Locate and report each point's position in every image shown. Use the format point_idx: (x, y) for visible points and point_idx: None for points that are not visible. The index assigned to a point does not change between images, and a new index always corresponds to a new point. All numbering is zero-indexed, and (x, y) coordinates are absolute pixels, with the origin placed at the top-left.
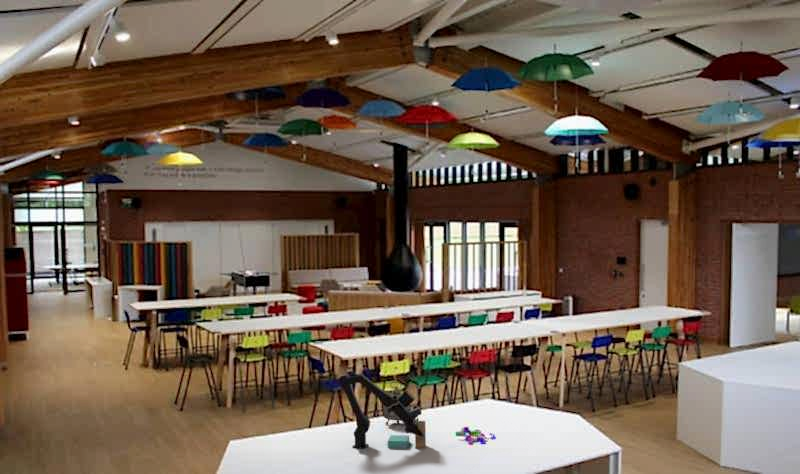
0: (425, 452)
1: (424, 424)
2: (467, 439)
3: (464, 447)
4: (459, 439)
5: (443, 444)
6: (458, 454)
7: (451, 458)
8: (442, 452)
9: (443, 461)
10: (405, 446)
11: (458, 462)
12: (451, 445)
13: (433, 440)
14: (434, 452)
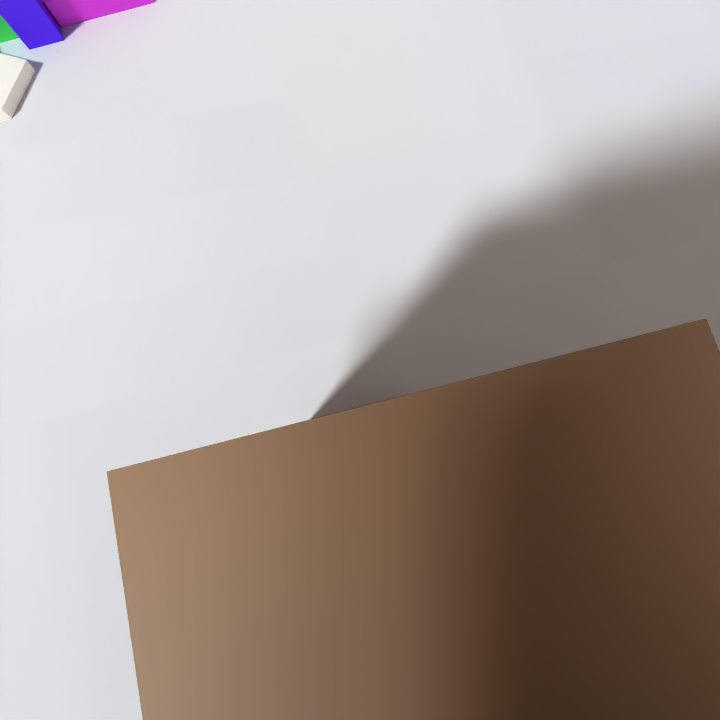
0: (538, 357)
1: (657, 346)
2: (39, 2)
3: (262, 25)
4: (9, 104)
5: (213, 239)
6: (481, 42)
7: (607, 78)
8: (476, 189)
9: (709, 126)
10: None
11: (677, 9)
12: (228, 152)
13: (80, 391)
14: (504, 265)
